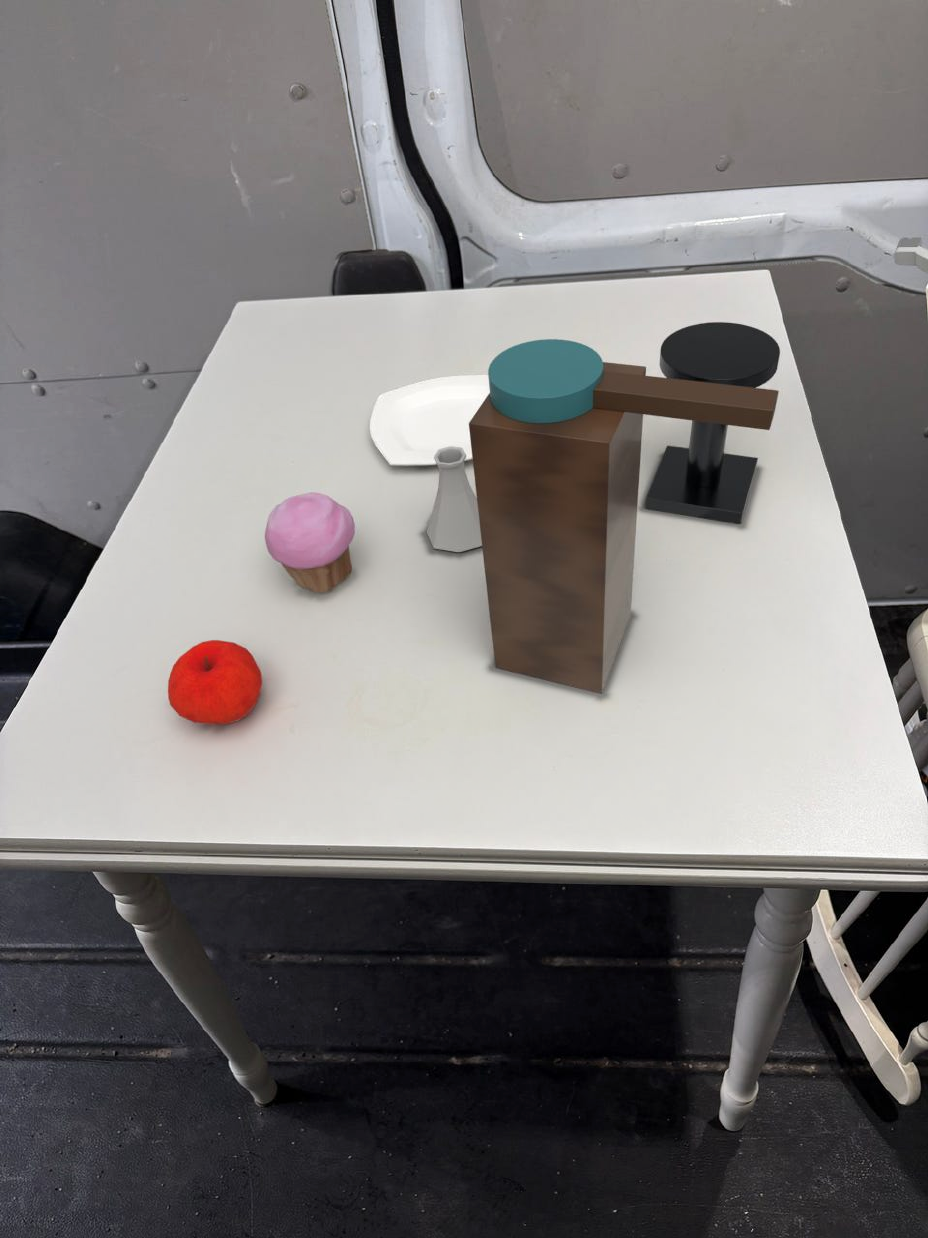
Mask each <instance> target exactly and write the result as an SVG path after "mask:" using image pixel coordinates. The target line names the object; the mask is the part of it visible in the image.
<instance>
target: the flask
mask: <svg viewBox="0 0 928 1238" xmlns="http://www.w3.org/2000/svg"><path fill="white" fill-rule="evenodd" d="M434 459H435V461H436V463H437V468H438V486H437V491H436V494H435V499H434V504H433V508H432V512H431V515H430V518H429V521H428V525H427V529H426V534H427V536H428V539H429V541H430V544H431V545H432V547H433V549H435V550H441V551H449V552H454V553H462V552H465V551H469V550H473V549H476V548H479V547H482V540H481V531H480V522H479V513H478V504H477V495H475V492H474V490H473V488H472V486H471V484H470V481H469V479H468V476H467V472H466V467H465V459H466V454H465V452H464V450H463V448H461V447H453V446H449V447H446V448H442V449H438V451H437V453H436V454H435V456H434Z"/></svg>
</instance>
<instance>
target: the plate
mask: <svg viewBox="0 0 928 1238" xmlns="http://www.w3.org/2000/svg"><path fill="white" fill-rule="evenodd" d="M489 393H490V388H489V377H488V374H468V375H467V374H466V375H465V374H463V375H450V376H442V377H435V378H431V379H427V380H422V381H419V382H415V383H412V384H407V385H405V386H404V385H403V386H402V387H399V388H395V389H392V390H390V391H387V392H383V393H381V394H379V395H378V398H377V399H376V402H375V404H374V406H373V409H372V412H371V415H370V420H369V433H370V437H371V439H372V441H373V443H374V445H375V447H376V448H377V450H378V451H379V452H380V453H381V456H383V458H384V459H385V460H386V462H387V463H388V464H389V465H390V466H407V467H408V466H435V465H437V463H436V461H435V459H434V456H435V454H436V453H437V451H438V449H442V448H446V447H449V446H453V447H461V448H463V450H464V452H465V454H466V459H465V461H471V460H473V458H472V449H471V440H470V431H469V422H470V421H471V419H472V418H473V416H474V415H475V413H476V412H477V411H478V409H479V408H480V406H481V405H482V403H483V402H484V400H485V399H486V397H487V396H488V394H489ZM465 461H464V462H465ZM437 466H438V465H437Z"/></svg>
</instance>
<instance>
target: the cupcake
mask: <svg viewBox="0 0 928 1238" xmlns="http://www.w3.org/2000/svg"><path fill="white" fill-rule="evenodd" d="M355 533H356V524H355V521H354V517H353V515H352V513H351V511H350V510H349V508H347V507H346V506H344V505H342V504H340V503H339V502H337V501H335V500H334V499H333V498H332V497H330V496H329V495H326V494H324V493H320V492H313V491H311V492H307V493H306V492H305V493H301V494H297V495H294V496H290V497H287V498H286V499H284V500H282V502H280V503H279V504H277V505H276V506H274V508H273V509H272V510H271V511H270V512H269V514H268V517H267V521H266V526H265V531H264V541H265V547H266V550H267V552H268V554H269V555H270V556H271V558H272V559H273V560H274V561H276V562H277V563H280V564H281V566H282V567H283V569H285V571H286V572H287V573H288V575H290V577H291V578H292V579H293V580H294V581H295V582H296V583H297V584H298V586H299V587H300V588H306V589H308V590H310V591H312V592H313V593H318V594H326V593H329V592H331V591H332V590H333V589H334V588H336V587H337V586H338V585H339V584H340V583H342V582H343V581H345V580H346V579H347V577H348V576H349V575H350V574H351V573H352V570H353V567H352V560H351V552H350V545H351V543H352V541H353V539H354V537H355Z"/></svg>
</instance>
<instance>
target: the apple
mask: <svg viewBox="0 0 928 1238" xmlns="http://www.w3.org/2000/svg"><path fill="white" fill-rule="evenodd" d="M262 679H263V678H262V671H261V669H260V667H259V665H258V664H257V661H256V660H255V657H254V656H253V654H252V653H251V652H250V650H248V648H246V647H245V646H242V645H240V644H237V643H236V642H234V641H233V642H232V641H226V640H219V639H212V640H207V641H206V640H205V641H202V642H199V643H197V644H196V645H193V646H192V647H190V649H188V650H187V651H185V652H184V653H182V655H180V656H179V657H178V658H177V660H176V662H175V663H174V664H173V665H172V668H171V671H170V673H169V678H168V683H167V699H168V701H169V705H170V706H171V708H172V709H173V711H175V713H176V714H177V715H178V716H179V717H182V718H183V719H186V720H187V721H190V722H192V723H193V724H202V725H203V724H205V725H216V726H217V725H226V724H232V723H234V722H237V721H240V720H242V719H243V718H244V717H246V716H247V715H248V714H249V713H250V712H251V711H252V710H253V708H254V707H255V706H256V704H257V703H258V700H259V698H260V696H261V692H262V691H261V690H262V683H263V681H262Z"/></svg>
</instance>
